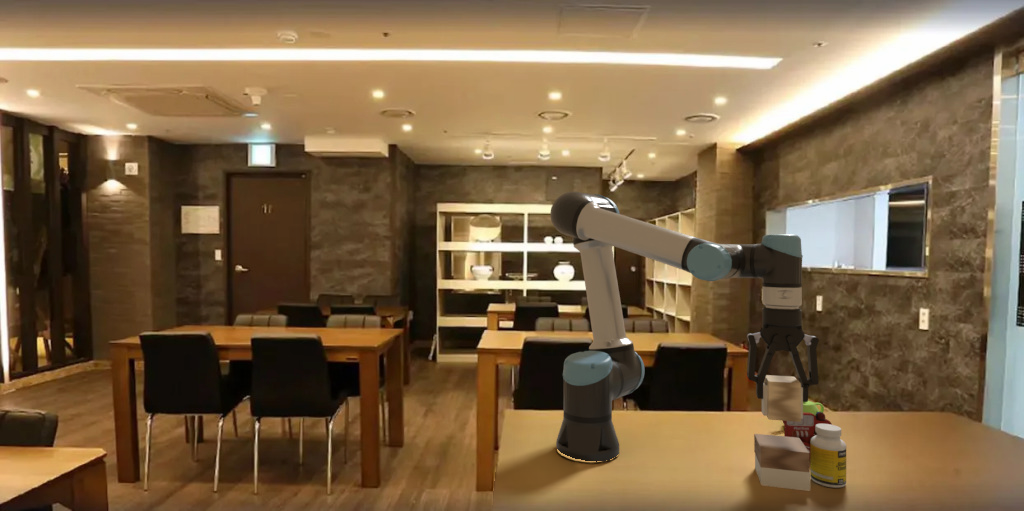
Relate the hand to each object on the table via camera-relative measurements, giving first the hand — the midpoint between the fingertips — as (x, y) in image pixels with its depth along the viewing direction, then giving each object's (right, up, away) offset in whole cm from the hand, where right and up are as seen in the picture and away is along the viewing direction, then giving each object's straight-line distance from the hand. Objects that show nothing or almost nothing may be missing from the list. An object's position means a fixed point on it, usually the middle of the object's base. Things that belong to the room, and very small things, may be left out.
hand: (781, 415), depth 112 cm
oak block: (0, 0, 0) cm, 0 cm away
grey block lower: (0, -14, 0) cm, 14 cm away
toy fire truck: (+13, -14, +13) cm, 23 cm away
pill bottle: (+9, -14, -2) cm, 17 cm away
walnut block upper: (0, -10, 0) cm, 10 cm away
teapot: (+21, -14, +32) cm, 41 cm away
